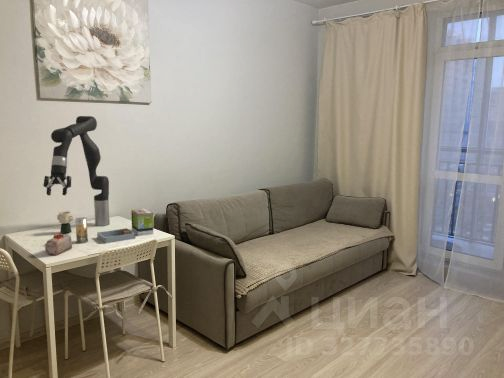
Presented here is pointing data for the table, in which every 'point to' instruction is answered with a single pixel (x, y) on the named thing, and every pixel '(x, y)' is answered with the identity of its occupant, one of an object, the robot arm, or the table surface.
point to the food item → (58, 244)
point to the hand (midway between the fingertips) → (56, 195)
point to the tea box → (142, 222)
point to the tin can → (81, 230)
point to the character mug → (65, 221)
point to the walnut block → (125, 231)
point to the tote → (114, 236)
